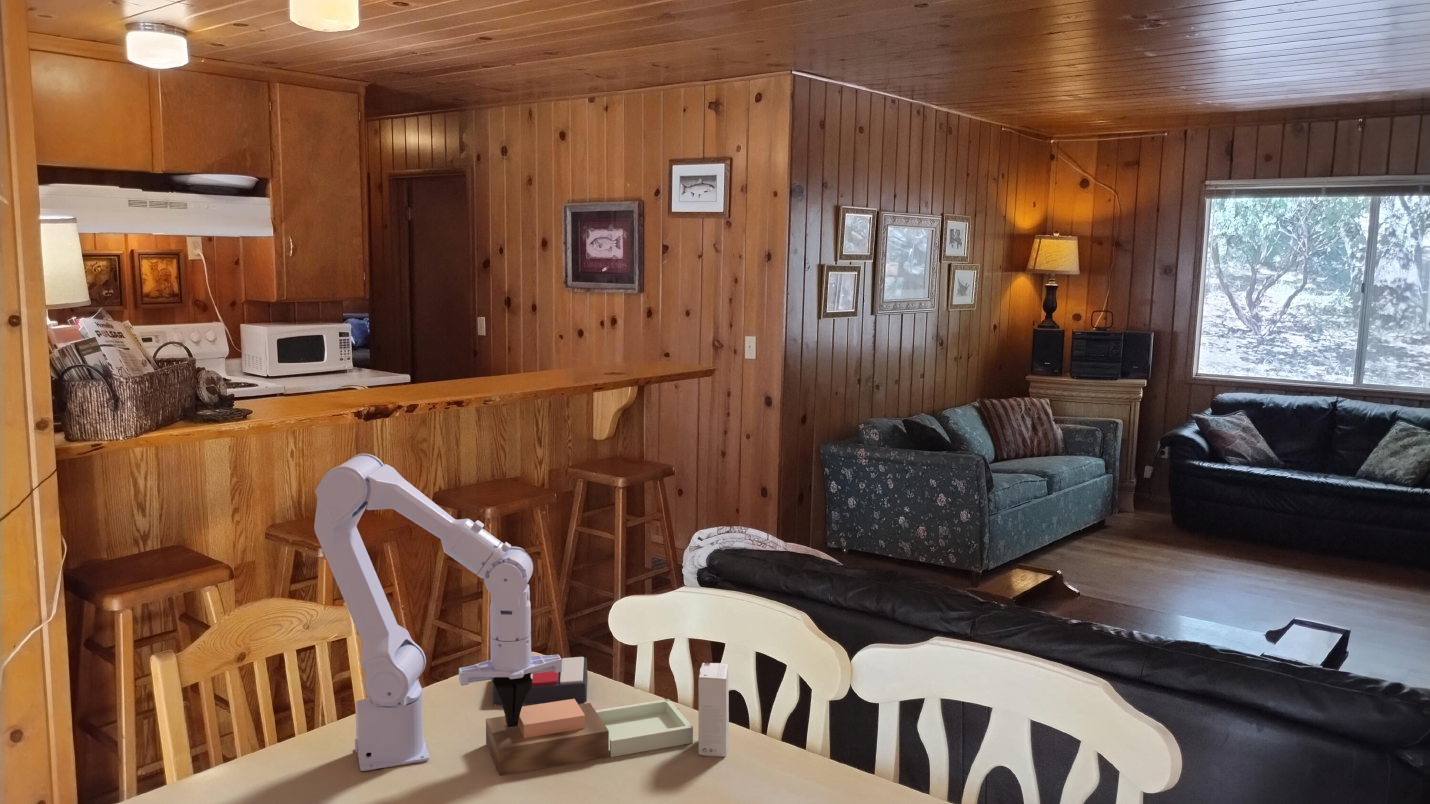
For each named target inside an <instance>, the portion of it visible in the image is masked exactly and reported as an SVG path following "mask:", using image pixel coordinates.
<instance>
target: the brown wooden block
mask: <svg viewBox="0 0 1430 804" xmlns="http://www.w3.org/2000/svg"><path fill="white" fill-rule="evenodd" d="M578 705H579V707H580V708H581V710H582V711H583V713H584V714H585V728H583V729H577V730H571V731H565V732H559V733H552V734H546V735H540V736H534V737H528V738H524V737H523V735H522V733H521V731H520V729H519V727H518V726H514V727H508V726H507V723H506V719H505V715H503V716H496V717H489V718H485V744H486V745H485V746H486V747H487V749H488V753H489V754H490V757H491V760H492V762H493V764H494V766H495V769H496V772H497V774H498V776H505V775H511V774H515V773H523V772H529V771H534V770H539V769H545V768H550V767H551V768H552V767H556V766H563V765H567V764H573V763H579V762H586V761H591V760H595V759H601V758H608V757H609V756H610V754H609V730H608V729H607V727H606V726H605V724H604V723H603V721H602V720H601V718H600V717H599V716H598V714H597V713H596V711H595V708H594V707H593V705H592V703H591V702H588V703H587V702H585V703H578Z"/></svg>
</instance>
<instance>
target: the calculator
mask: <svg viewBox="0 0 1430 804" xmlns="http://www.w3.org/2000/svg"><path fill="white" fill-rule="evenodd" d="M561 659H562V672H554V671H549V672H542V673H535V674H531V679H532V687H531V689H530V691H529V692H528V694H527V696H526V698H525V701H524V703H523V705H536V704H543V703H549V702H556V701H563V700H569V699H575V700H576V702H577V703H578V704H586V703H587V700H588V681H589V680H588V679H589V677H588V660H587V657H584V656H575V657H563V658H561ZM492 701H493V705H494V706H503V705H502V702H501V699H500V697H499V694H498V692H497V690H496V688H495V686H494V685H493V686H492Z"/></svg>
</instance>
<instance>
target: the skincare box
mask: <svg viewBox="0 0 1430 804" xmlns="http://www.w3.org/2000/svg"><path fill="white" fill-rule="evenodd" d="M697 686H698V688H697V689H698V754H699V755H700V756H704V757H705V756H706V757H726V756H727V754H728V749H729V745H730V744H729V743H730V742H729V740H730V737H729V735H730V730H729V729H730V728H729V725H730V724H729V723H730V721H729V719H730V717H729V716H730V712H729V710H730V709H729V707H730V706H729V704H730V703H729V699H730V697H729V694H730V693H729V691H730V689H729V687H730V685H729V664H728V663H723V662H722V663H719V662H702V663H701V666H700V669H699V674H698V684H697Z"/></svg>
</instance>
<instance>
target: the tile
mask: <svg viewBox="0 0 1430 804" xmlns="http://www.w3.org/2000/svg"><path fill="white" fill-rule="evenodd" d="M518 727H519V729H520V731H521V733H522V735H523V737H524V738H528V737H534V736H540V735H546V734H552V733H559V732H565V731H571V730H577V729H583V728H585V714H584V713H583V711H582V710H581V708H580V707H579V703H577V702H576V700H575V699H569V700H563V701H556V702H549V703H541V704H529V705H525V706H524V705H523V706H522V709H521V712H520V716H519V721H518Z"/></svg>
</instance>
